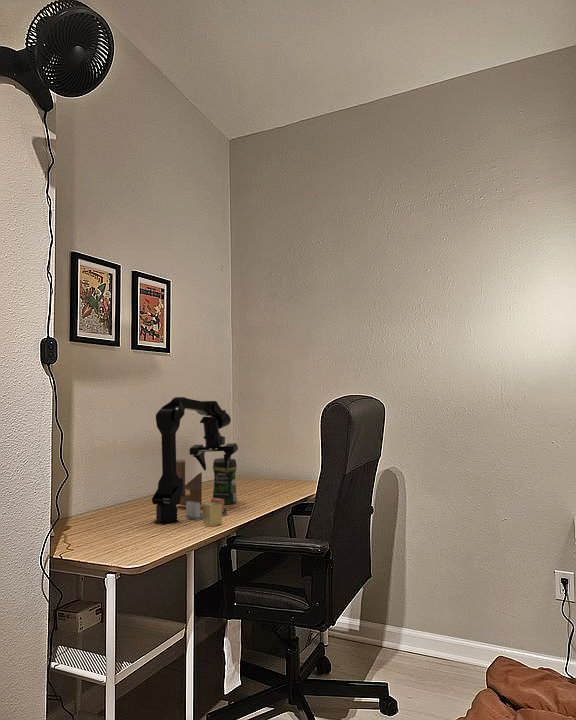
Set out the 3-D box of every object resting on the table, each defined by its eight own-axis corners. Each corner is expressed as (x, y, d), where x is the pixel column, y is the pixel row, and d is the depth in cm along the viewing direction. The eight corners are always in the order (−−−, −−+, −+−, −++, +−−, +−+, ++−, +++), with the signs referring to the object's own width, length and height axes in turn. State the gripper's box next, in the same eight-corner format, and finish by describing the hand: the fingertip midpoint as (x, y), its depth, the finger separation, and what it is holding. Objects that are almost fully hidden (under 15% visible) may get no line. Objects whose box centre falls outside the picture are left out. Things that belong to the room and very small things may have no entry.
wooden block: (197, 508, 238) (197, 465, 234) (173, 503, 242) (173, 461, 238) (201, 505, 241) (202, 462, 237) (178, 500, 245) (178, 458, 241)
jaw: (220, 512, 223) (219, 500, 223) (211, 510, 227) (211, 498, 227) (224, 511, 224) (224, 499, 225) (215, 509, 228) (215, 497, 229)
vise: (195, 520, 215) (195, 503, 216) (186, 518, 220) (186, 501, 220) (226, 514, 225) (226, 498, 225) (217, 512, 229) (217, 496, 230)
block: (210, 526, 205) (209, 505, 205) (203, 524, 208) (203, 504, 208) (221, 524, 208) (221, 503, 208) (214, 522, 211) (214, 502, 211)
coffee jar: (209, 504, 249) (209, 458, 250) (219, 500, 256) (219, 456, 257) (230, 505, 245) (230, 459, 246) (239, 502, 252) (239, 457, 253)
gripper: (240, 426, 245) (244, 463, 246) (197, 428, 249) (201, 464, 251) (231, 432, 234) (235, 471, 236) (186, 434, 238) (191, 472, 240)
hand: (215, 469), depth 241 cm, fingers open, 9 cm apart
